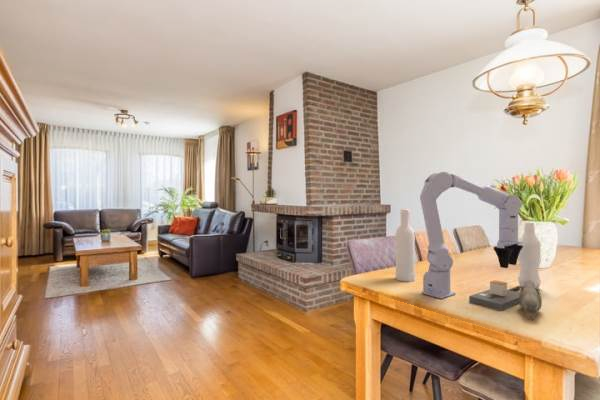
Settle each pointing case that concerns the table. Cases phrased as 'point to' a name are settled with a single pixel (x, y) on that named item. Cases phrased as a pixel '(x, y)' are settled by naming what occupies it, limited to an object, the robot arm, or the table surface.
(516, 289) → the twin grey rods
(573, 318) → the table surface
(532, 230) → the water bottle
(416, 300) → the table surface
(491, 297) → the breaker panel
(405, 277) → the bottle
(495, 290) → the handle
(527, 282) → the decorative bird
